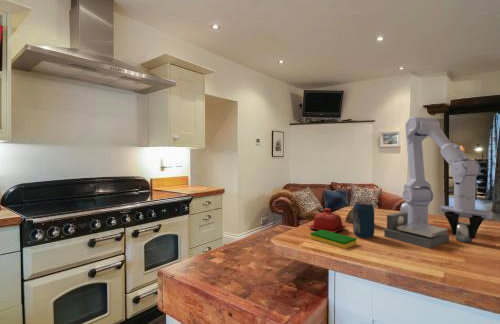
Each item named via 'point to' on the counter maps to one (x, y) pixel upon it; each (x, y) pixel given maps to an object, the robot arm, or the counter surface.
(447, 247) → the counter surface
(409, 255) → the counter surface
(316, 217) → the butter dish
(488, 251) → the counter surface
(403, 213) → the scale
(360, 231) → the soda can
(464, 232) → the steel weight
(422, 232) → the scale pan
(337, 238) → the dish sponge
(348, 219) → the rock
